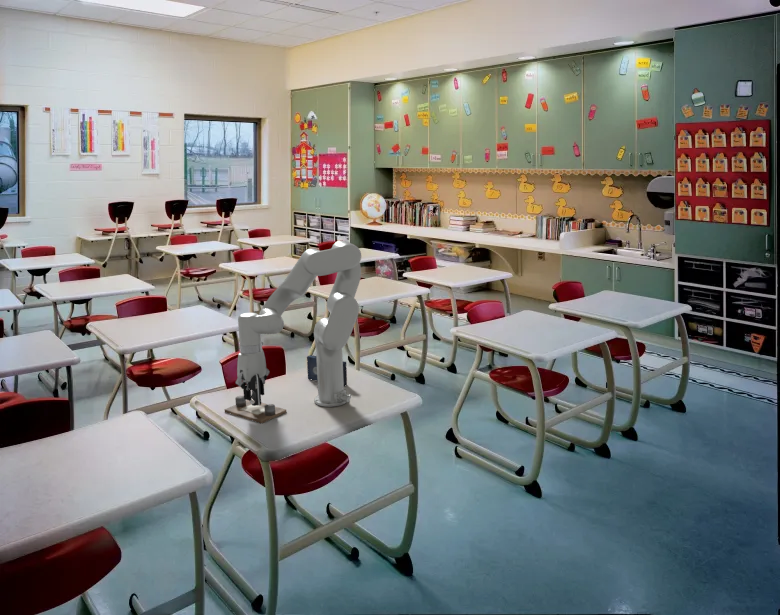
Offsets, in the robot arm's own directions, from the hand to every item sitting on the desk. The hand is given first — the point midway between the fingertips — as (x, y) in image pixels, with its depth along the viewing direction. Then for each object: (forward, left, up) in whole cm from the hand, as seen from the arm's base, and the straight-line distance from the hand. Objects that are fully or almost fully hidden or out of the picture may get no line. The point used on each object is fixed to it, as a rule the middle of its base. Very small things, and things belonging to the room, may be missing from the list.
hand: (254, 396), depth 228 cm
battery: (0, 0, -3) cm, 3 cm away
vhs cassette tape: (-1, -38, -6) cm, 39 cm away
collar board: (0, 0, -6) cm, 6 cm away
